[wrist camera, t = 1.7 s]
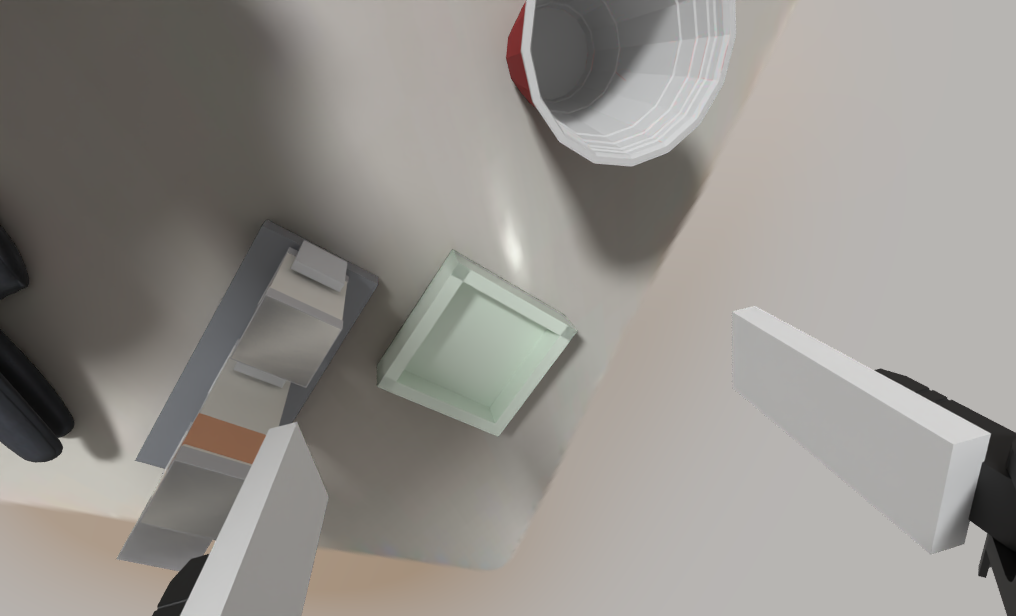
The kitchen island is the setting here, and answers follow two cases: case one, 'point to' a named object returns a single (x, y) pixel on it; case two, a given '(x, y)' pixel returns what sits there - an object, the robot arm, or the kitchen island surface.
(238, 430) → the block
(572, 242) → the kitchen island surface
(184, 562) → the grey block
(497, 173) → the kitchen island surface
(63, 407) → the can opener
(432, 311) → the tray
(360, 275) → the block
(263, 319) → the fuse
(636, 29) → the plastic cup
